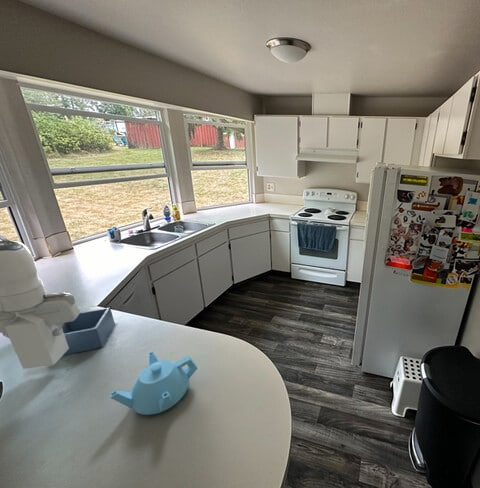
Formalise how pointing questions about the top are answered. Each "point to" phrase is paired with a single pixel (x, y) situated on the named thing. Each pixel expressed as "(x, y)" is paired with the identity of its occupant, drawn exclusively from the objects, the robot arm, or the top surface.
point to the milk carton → (35, 341)
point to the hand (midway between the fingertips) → (39, 337)
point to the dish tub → (88, 330)
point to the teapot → (157, 386)
